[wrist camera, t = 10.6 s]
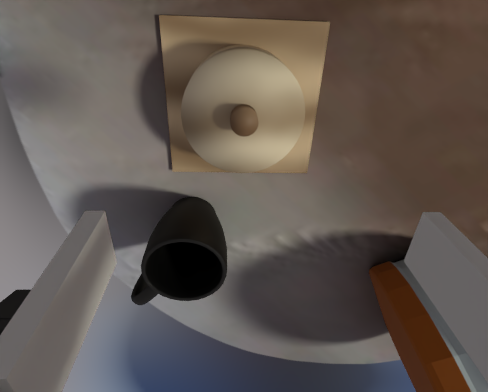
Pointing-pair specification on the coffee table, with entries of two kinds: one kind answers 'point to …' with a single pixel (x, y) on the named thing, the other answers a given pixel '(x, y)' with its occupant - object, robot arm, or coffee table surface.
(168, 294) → the mug
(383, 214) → the coffee table surface
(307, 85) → the mat
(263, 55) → the lid
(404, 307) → the alarm clock
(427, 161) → the coffee table surface
